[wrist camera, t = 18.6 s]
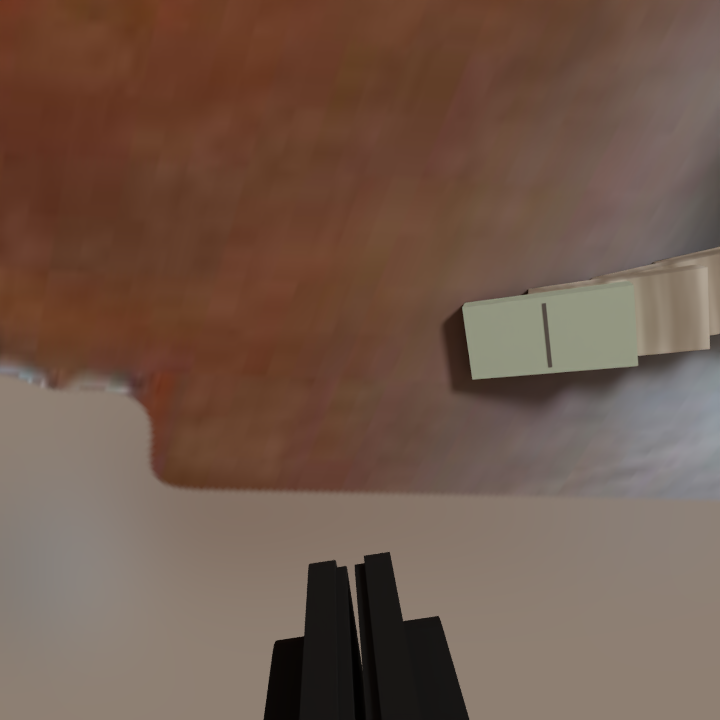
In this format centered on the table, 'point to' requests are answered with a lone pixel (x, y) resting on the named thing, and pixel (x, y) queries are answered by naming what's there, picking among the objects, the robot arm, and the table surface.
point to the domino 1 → (552, 331)
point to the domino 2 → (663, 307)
